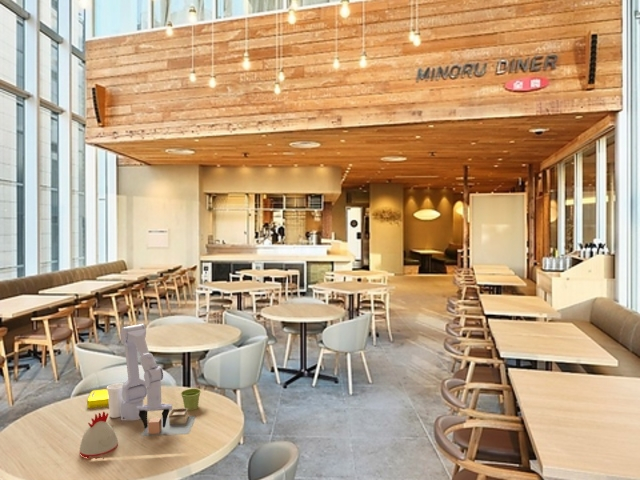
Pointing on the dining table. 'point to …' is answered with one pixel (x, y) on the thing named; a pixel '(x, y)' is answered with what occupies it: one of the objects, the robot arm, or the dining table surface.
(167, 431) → the grey board
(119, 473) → the dining table surface
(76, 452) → the dining table surface
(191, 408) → the plant pot
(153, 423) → the terracotta block
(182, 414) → the birch socket block
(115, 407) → the cup
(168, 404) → the robot arm
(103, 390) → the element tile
